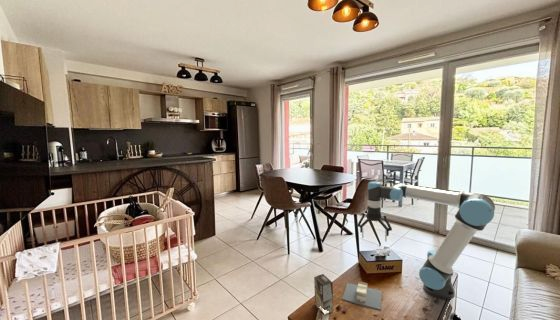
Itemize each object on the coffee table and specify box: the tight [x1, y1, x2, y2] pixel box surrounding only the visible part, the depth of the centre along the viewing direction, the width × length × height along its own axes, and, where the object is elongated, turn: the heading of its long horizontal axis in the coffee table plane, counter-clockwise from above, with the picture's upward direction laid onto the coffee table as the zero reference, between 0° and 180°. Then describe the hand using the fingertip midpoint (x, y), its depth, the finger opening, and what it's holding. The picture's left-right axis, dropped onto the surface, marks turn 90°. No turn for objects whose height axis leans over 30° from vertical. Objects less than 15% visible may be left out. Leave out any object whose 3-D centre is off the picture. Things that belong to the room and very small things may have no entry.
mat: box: [341, 282, 383, 311], centre depth 132 cm, size 20×16×1 cm
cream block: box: [357, 281, 369, 301], centre depth 132 cm, size 10×5×4 cm, turn 154°
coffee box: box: [313, 273, 334, 313], centre depth 123 cm, size 9×6×16 cm
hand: (374, 238), depth 146 cm, fingers open, 13 cm apart
